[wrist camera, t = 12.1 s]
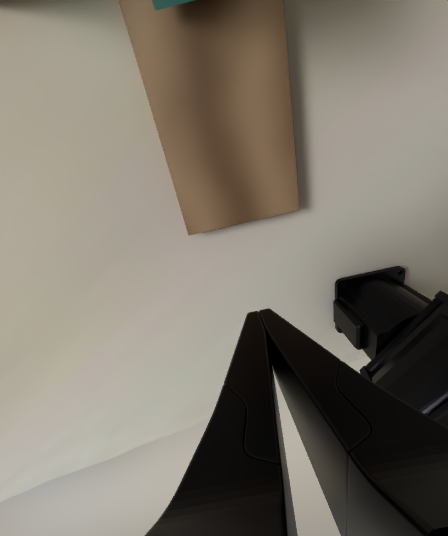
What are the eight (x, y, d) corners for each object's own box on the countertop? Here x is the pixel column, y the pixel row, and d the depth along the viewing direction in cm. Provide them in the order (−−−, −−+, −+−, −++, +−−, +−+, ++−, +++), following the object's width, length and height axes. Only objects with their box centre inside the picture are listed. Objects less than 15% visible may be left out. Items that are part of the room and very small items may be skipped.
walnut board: (257, -223, 10) (263, -268, 9) (294, 207, 19) (299, 209, 18) (74, -165, 11) (58, -202, 10) (190, 231, 19) (188, 235, 18)
